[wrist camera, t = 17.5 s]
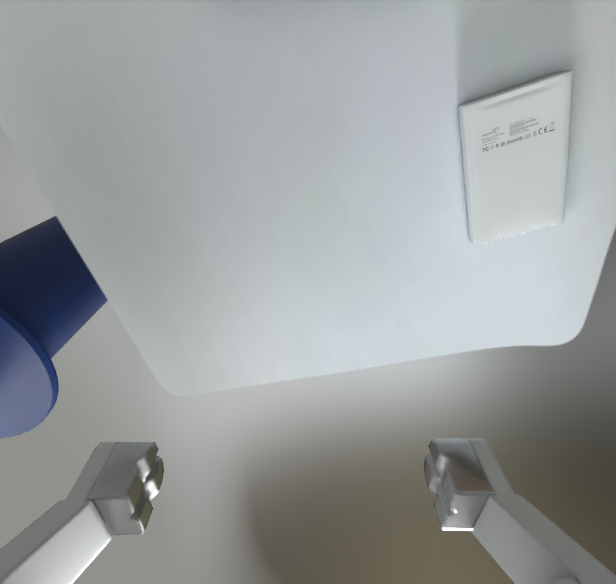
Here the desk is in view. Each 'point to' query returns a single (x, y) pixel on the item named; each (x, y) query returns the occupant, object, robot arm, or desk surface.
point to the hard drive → (516, 158)
